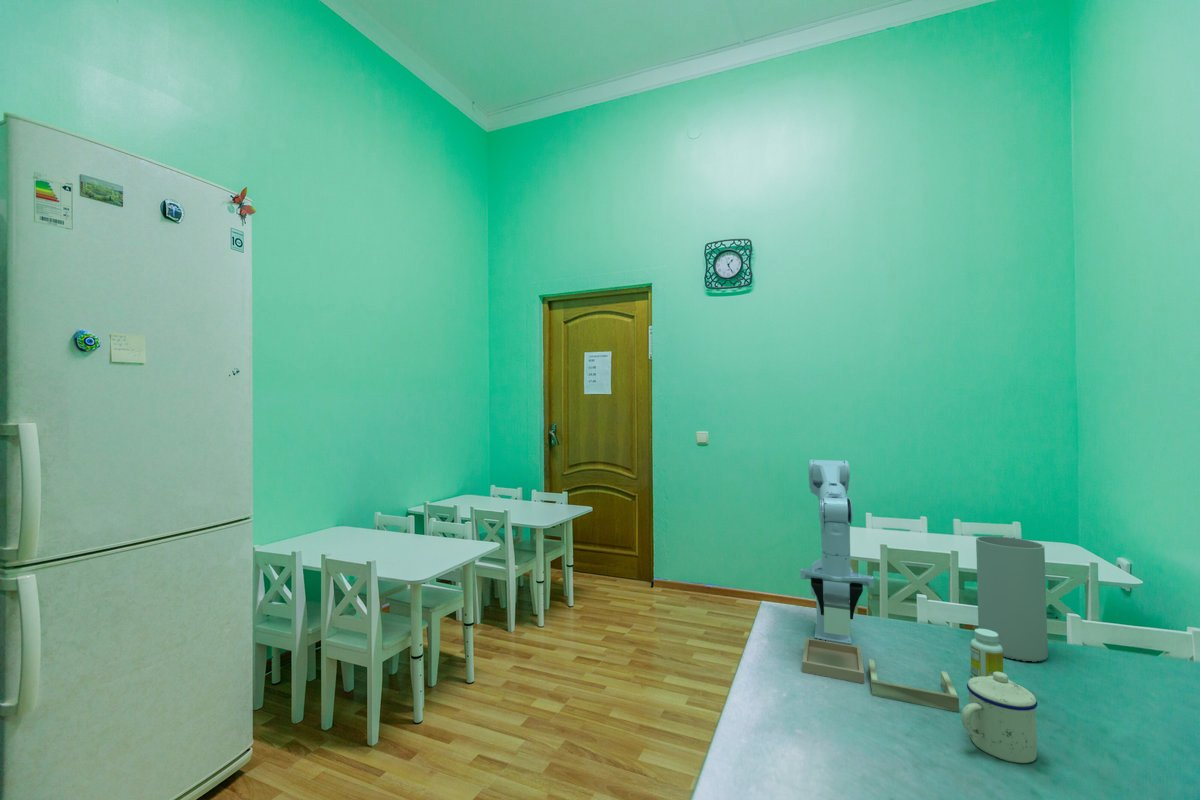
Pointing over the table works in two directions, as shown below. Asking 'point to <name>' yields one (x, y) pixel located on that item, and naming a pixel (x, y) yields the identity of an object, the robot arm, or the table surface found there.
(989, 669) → the supplement bottle
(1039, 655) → the cylinder vase
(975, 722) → the teacup with lid
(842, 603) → the grey-green upright block
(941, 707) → the bay
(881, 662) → the table surface
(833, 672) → the tray
